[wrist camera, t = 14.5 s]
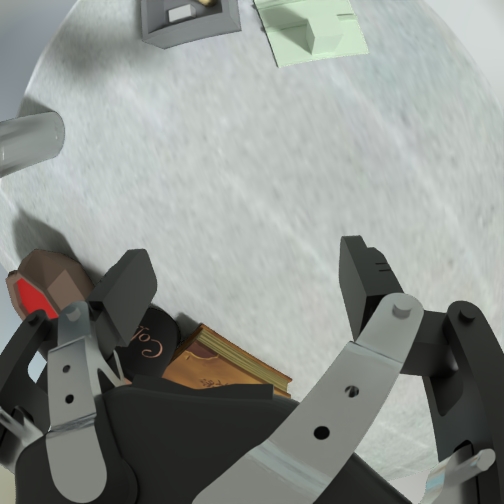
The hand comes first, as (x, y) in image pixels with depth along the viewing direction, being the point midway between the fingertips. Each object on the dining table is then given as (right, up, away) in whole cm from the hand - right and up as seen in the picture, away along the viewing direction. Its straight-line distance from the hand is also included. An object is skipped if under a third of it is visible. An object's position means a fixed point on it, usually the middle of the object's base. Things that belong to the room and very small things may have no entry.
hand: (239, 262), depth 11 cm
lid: (+7, +32, +13) cm, 35 cm away
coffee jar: (-19, -15, +42) cm, 48 cm away
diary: (-5, -26, +46) cm, 53 cm away
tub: (-7, +35, +13) cm, 38 cm away
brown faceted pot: (-40, -6, +41) cm, 58 cm away
